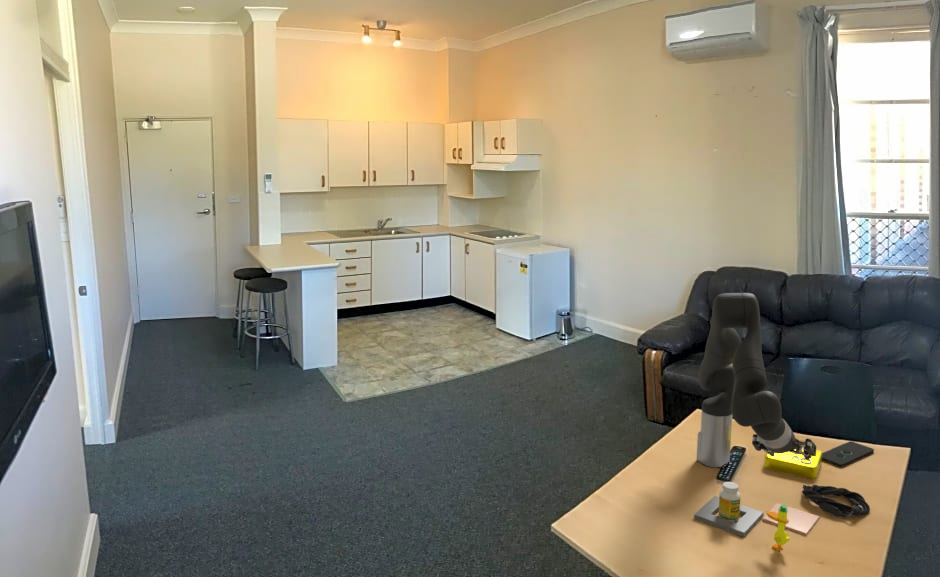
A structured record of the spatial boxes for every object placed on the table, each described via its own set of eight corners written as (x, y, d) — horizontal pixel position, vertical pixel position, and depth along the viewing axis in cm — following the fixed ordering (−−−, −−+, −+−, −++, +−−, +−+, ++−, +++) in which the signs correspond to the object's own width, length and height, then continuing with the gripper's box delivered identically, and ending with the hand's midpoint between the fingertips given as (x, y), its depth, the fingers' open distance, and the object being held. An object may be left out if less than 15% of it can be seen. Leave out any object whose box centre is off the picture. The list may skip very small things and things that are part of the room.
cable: (790, 497, 193) (791, 483, 192) (819, 485, 200) (820, 471, 199) (848, 525, 179) (850, 510, 178) (878, 510, 186) (879, 496, 185)
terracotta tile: (762, 520, 181) (762, 518, 181) (777, 504, 189) (777, 502, 189) (806, 535, 174) (806, 533, 174) (819, 518, 182) (819, 516, 181)
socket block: (693, 518, 183) (694, 514, 182) (714, 499, 192) (714, 495, 192) (743, 536, 173) (744, 532, 173) (763, 516, 183) (763, 512, 183)
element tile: (822, 462, 215) (823, 448, 214) (815, 481, 203) (817, 467, 202) (771, 451, 223) (772, 438, 222) (762, 469, 211) (763, 455, 210)
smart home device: (816, 454, 217) (850, 440, 227) (815, 459, 217) (849, 445, 228) (841, 464, 210) (875, 449, 220) (841, 469, 210) (874, 453, 221)
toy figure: (760, 544, 170) (763, 501, 168) (767, 539, 172) (771, 496, 170) (786, 556, 165) (790, 512, 162) (793, 551, 167) (797, 507, 164)
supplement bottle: (726, 510, 187) (728, 478, 185) (743, 518, 182) (745, 486, 180) (714, 516, 184) (716, 483, 182) (731, 524, 179) (733, 491, 177)
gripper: (807, 420, 161) (821, 443, 172) (745, 416, 170) (762, 438, 181) (805, 451, 158) (819, 471, 169) (742, 445, 167) (760, 465, 178)
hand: (790, 454), depth 175 cm, fingers open, 8 cm apart
